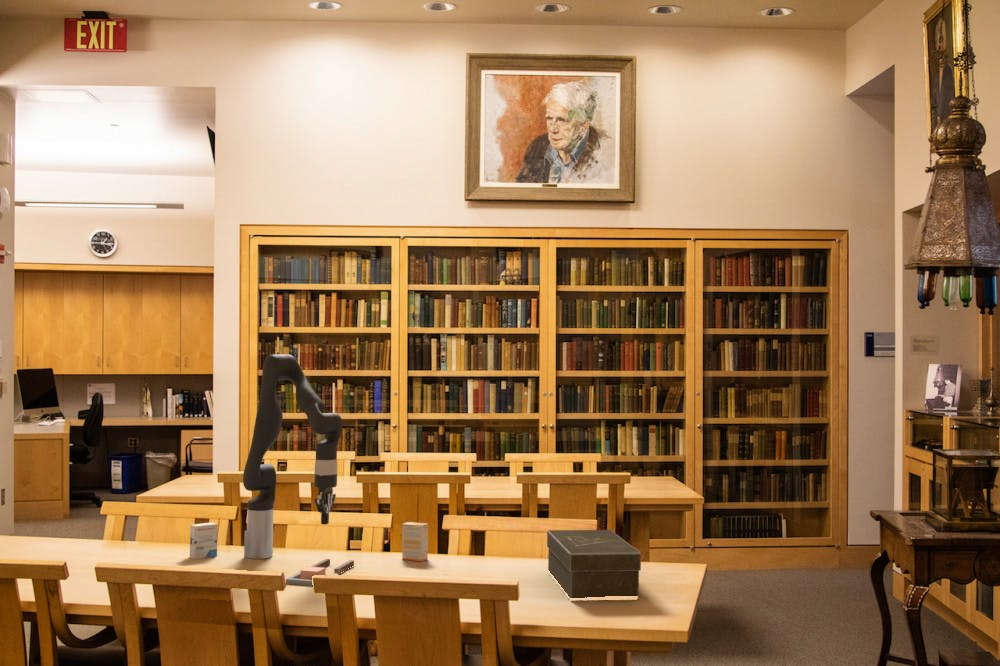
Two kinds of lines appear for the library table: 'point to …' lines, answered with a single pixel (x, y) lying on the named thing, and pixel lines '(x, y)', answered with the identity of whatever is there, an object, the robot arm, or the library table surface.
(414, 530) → the supplement box
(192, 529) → the ink box
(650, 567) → the library table surface
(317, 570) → the terracotta block
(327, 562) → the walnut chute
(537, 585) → the library table surface
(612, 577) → the box
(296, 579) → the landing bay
